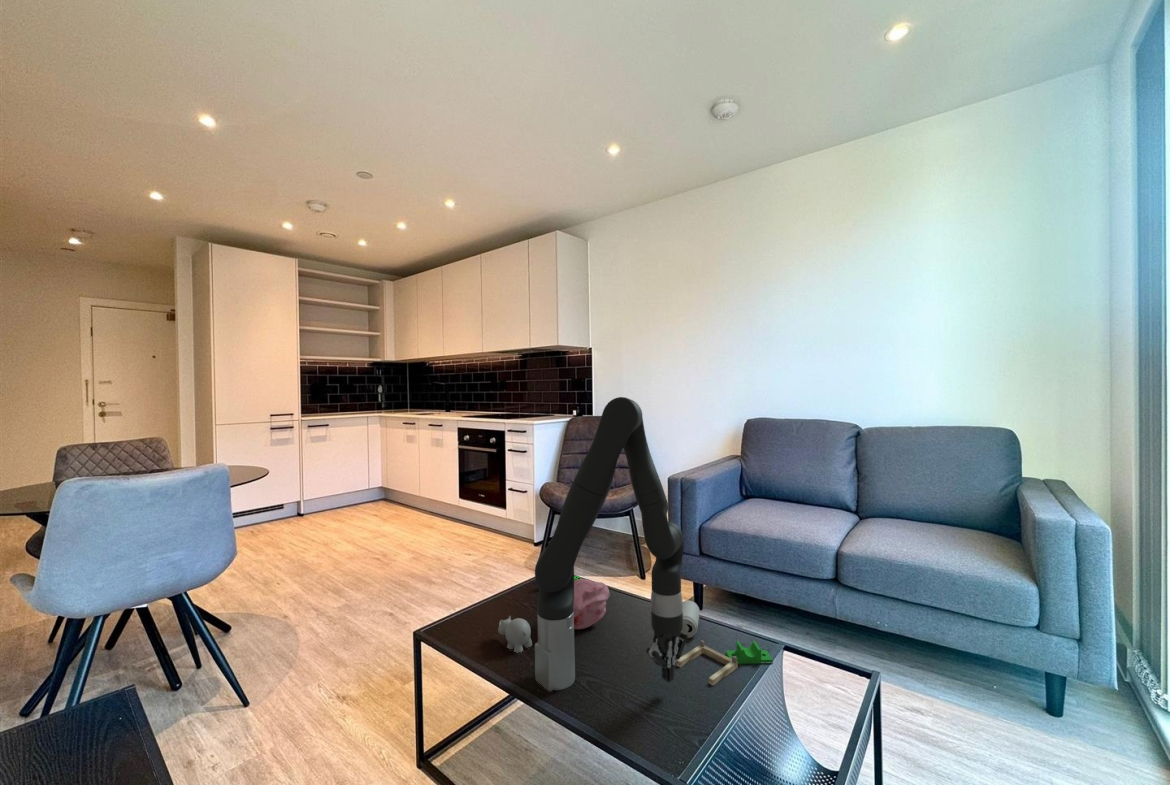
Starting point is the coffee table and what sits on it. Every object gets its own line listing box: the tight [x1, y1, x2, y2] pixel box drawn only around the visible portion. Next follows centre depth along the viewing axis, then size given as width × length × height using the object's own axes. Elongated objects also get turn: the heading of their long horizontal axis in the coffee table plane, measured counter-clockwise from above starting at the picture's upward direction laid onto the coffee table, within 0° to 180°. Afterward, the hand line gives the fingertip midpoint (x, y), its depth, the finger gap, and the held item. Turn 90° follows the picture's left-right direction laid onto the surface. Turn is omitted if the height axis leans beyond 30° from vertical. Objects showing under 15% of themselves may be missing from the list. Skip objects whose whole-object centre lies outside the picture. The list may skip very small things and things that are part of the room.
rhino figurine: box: [497, 615, 533, 653], centre depth 131 cm, size 7×12×8 cm, turn 48°
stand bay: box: [676, 639, 739, 686], centre depth 119 cm, size 11×11×3 cm
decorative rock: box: [574, 578, 610, 630], centre depth 142 cm, size 19×14×15 cm
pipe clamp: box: [725, 640, 774, 664], centre depth 122 cm, size 11×4×5 cm
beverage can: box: [681, 600, 701, 639], centre depth 139 cm, size 6×6×12 cm
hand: (668, 679), depth 108 cm, fingers closed
